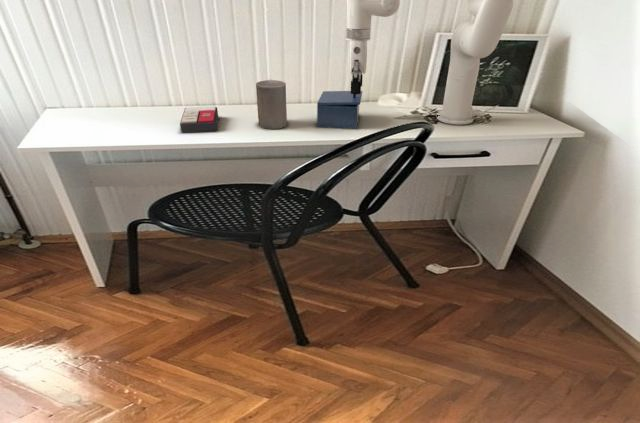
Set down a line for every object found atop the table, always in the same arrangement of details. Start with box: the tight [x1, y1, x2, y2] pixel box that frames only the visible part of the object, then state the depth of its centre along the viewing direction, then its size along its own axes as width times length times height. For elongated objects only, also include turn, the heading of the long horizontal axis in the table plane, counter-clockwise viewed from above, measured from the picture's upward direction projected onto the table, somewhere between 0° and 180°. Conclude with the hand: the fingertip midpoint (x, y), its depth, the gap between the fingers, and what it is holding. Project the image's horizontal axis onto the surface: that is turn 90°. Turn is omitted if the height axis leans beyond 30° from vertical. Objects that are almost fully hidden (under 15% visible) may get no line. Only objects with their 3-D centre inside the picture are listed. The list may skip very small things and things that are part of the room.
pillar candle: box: [255, 78, 288, 130], centre depth 134 cm, size 10×10×15 cm
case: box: [316, 104, 360, 130], centre depth 140 cm, size 13×15×7 cm
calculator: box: [179, 106, 219, 134], centre depth 136 cm, size 11×4×15 cm
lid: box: [316, 90, 363, 106], centre depth 136 cm, size 14×15×5 cm
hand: (356, 89), depth 136 cm, fingers open, 9 cm apart
